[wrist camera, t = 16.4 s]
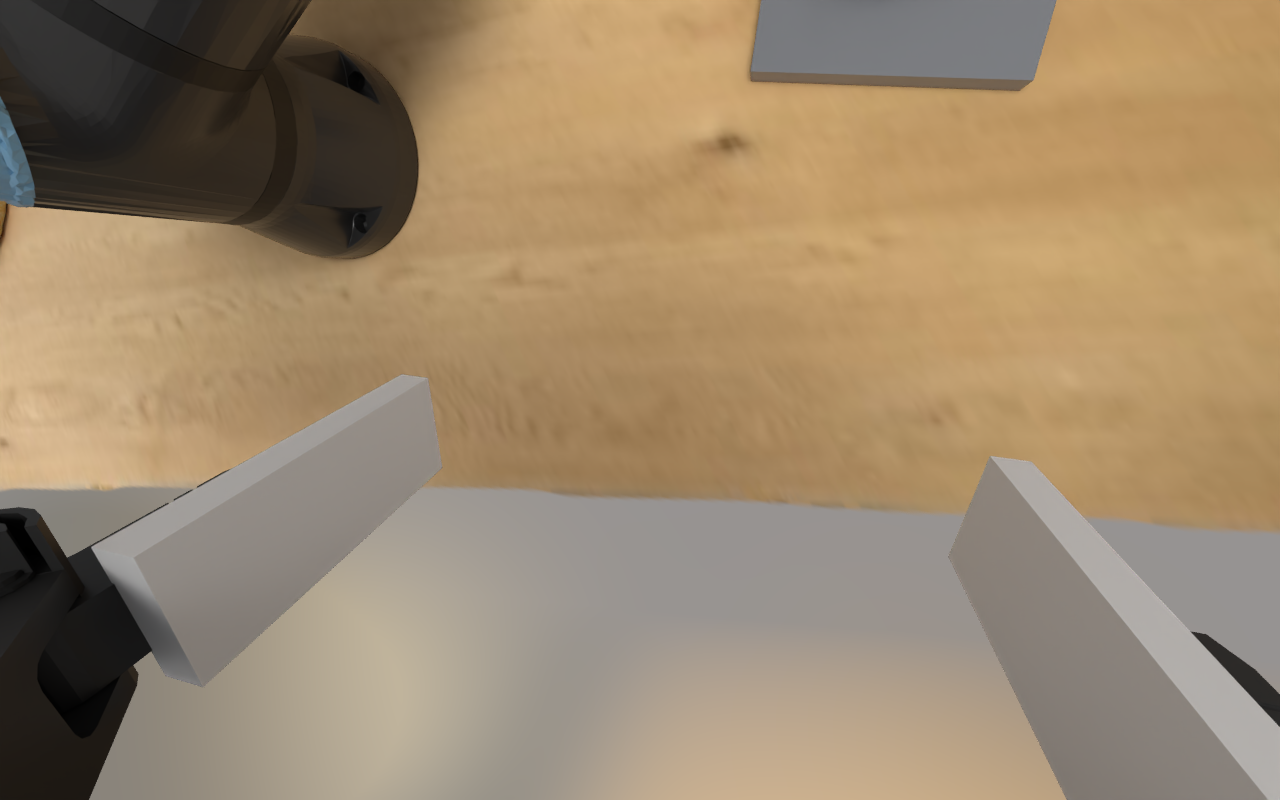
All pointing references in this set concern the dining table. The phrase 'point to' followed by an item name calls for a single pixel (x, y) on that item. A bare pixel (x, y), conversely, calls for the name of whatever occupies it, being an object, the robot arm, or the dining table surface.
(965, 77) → the slate tile
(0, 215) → the croissant
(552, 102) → the dining table surface
